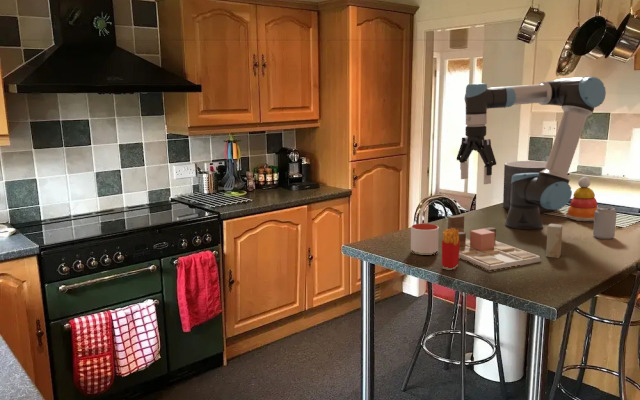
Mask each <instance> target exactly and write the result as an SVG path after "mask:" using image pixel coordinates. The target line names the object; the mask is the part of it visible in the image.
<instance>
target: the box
mask: <svg viewBox="0 0 640 400" xmlns="http://www.w3.org/2000/svg"><path fill="white" fill-rule="evenodd" d="M562 238H563V224H557V223H549V224H548V225H547V233H546V250H545V257H548V258H554V259H556V258H557V259H559V258H560V256H561V252H562V241H563V240H562Z"/></svg>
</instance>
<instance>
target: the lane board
mask: <svg viewBox="0 0 640 400" xmlns="http://www.w3.org/2000/svg"><path fill="white" fill-rule="evenodd" d="M496 242H499V243H502V244H504V245H507V246H510V247H513V248H514V251H508V252H503V251H500V250H499V253H496V254H490V255H489V256H491V257H494V258H496V259H499V260H501V261H503V263H501V264H496V265H487V264H485V263H483V262H480V261H478V260H475V259H473V258H472V257H474V256H479V255H485V253H482V252H480V251H477V250H476V253H475V254H469V255H464V254H461V253H459V255H460V256H462V257H464V258H466V259H468V260H471V261H473V262H475V263H476V264H478V265H481V266H483V267H485V268H487V269H489V270H491V269H497V268H503V267H510V268H512V267H511V266H515V267H518V266H517V265H520V266H525V265H530V264H535V263H540V262H541V261H542V259H541V258H542V257H541V255H537V254H535V253H532V252H529V251H526V250H524V249H520V248H518V247H514V246H512V245H510V244H507V243H503V242H501V241H497V240H496ZM466 247H467V246H466ZM468 248H470V247H468ZM471 249H472V248H471ZM473 250H475V249H473ZM518 251H524V252H527V253H530V254H533V255H535V257H533V258H527V259H521V258H519V257H516V256H513V255H511V254H509V253H512V252H518ZM486 255H487V254H486Z"/></svg>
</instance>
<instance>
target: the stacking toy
mask: <svg viewBox="0 0 640 400" xmlns="http://www.w3.org/2000/svg"><path fill="white" fill-rule="evenodd" d="M590 185H591V180H590V178H589V177H588V176H582V177H581V178H579V180H578V186H579V187H578V188H576V189H575V190H574V193H573V198H571V199H570V206H569V208H568V209H567V212H566V213H565V215H566V218H568V219H571V220H572V221H573V220H574V221H576V222H594V216H595V211H596V210H597V207H598V202H597V199H596V197H595V195H596V194H595V192H594V191H593V189H591V188H590Z"/></svg>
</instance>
